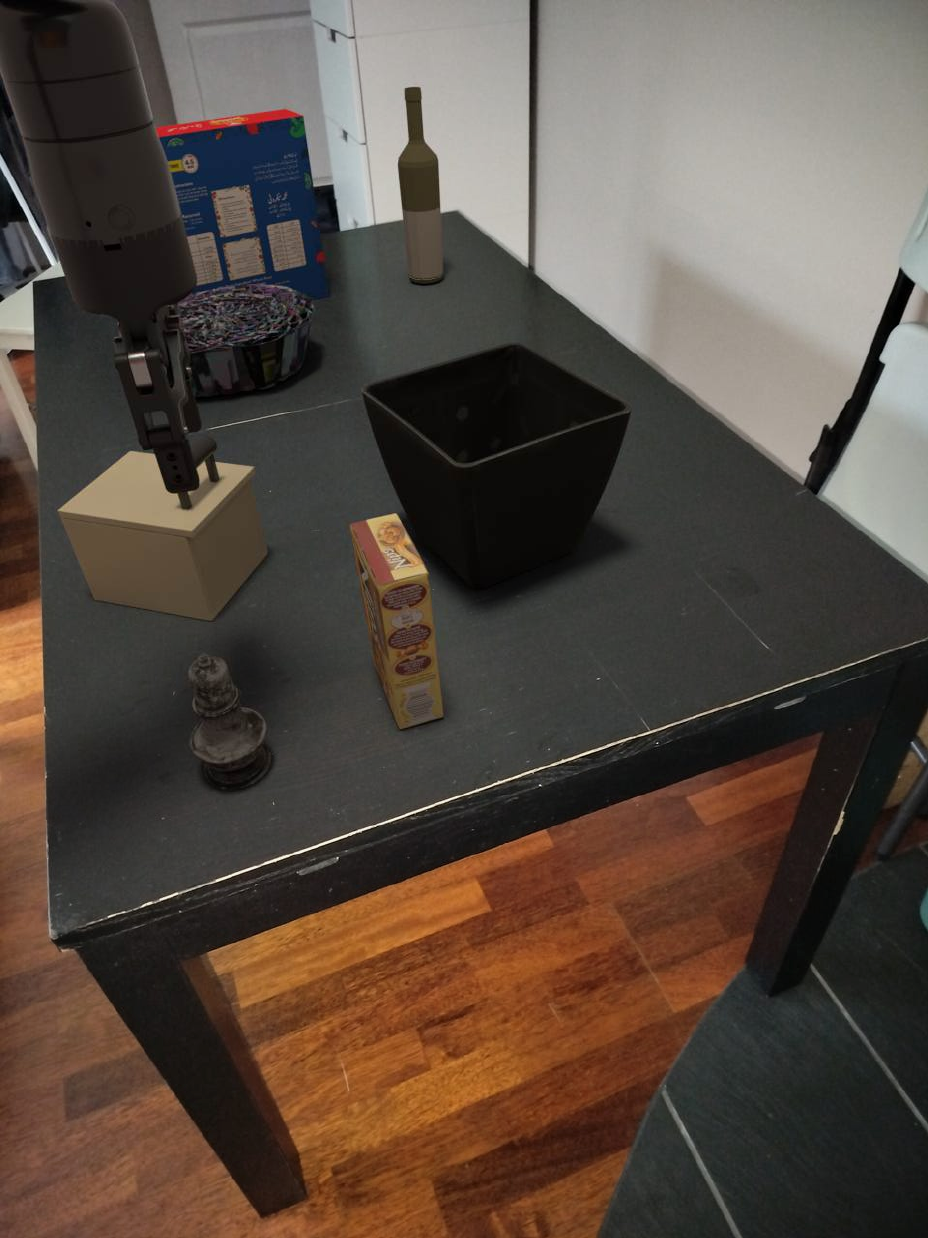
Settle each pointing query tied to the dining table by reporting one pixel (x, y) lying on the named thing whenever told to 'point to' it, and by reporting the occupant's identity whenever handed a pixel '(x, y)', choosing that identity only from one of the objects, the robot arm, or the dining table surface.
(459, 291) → the dining table surface
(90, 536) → the tan lidded cardboard box
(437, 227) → the bottle
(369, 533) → the candy box
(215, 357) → the decorative bowl
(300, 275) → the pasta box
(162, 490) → the lid
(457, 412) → the flower pot
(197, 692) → the salt shaker
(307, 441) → the dining table surface
